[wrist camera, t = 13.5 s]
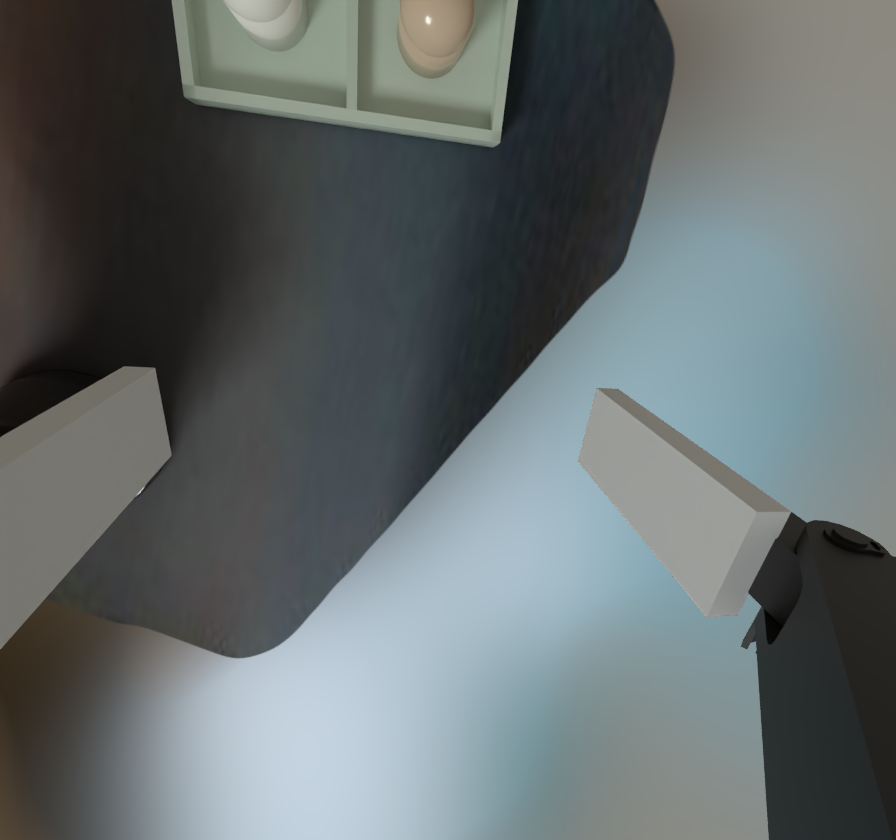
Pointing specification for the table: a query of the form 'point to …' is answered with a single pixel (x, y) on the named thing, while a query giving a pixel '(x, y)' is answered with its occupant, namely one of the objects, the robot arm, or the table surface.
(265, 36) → the egg white
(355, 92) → the green divided tray
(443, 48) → the egg brown
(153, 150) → the table surface
